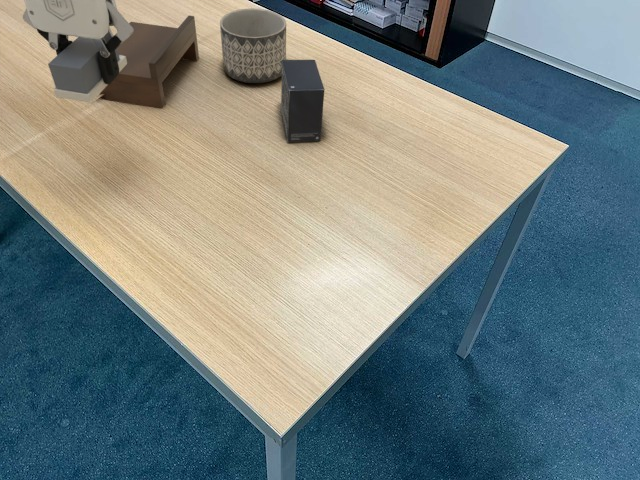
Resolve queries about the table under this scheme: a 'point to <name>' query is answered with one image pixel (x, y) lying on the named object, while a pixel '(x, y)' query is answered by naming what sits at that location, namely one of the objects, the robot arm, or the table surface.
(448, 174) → the table surface
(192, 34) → the shelf
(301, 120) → the small box
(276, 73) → the planter
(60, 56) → the grey block on plinth
